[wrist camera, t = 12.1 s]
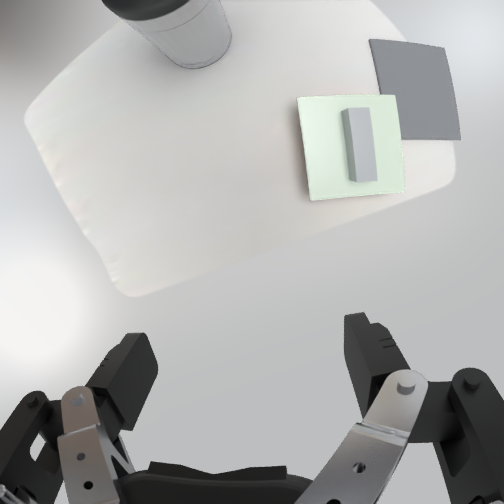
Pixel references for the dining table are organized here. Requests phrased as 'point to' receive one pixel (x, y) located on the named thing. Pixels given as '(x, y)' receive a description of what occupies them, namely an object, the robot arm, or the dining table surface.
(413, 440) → the robot arm
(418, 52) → the mat
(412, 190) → the dining table surface
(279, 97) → the dining table surface
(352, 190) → the cover sheet
